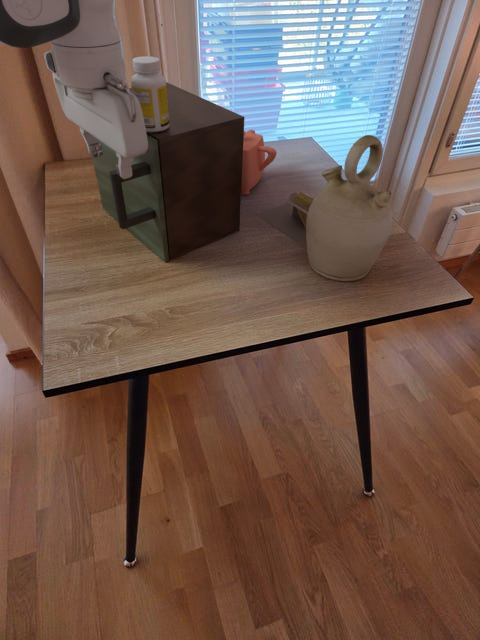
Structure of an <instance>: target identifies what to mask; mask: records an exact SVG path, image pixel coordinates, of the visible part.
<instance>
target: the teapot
mask: <svg viewBox="0 0 480 640" xmlns="http://www.w3.org/2000/svg"><path fill="white" fill-rule="evenodd" d="M266 153H267V157H266ZM276 157H277V150H276V149H275V148H273V147H271V146H265V142H264V136H263V135H262V134H259V133H256V131H255V130H254V129H248V130H247V131H245V130H244V141H243V163H242V186H241V195H244V196H245V195H249V194H250V190H251V189H253V188H254V187H255V186H256V185H257V184H258V183H259V181H260V180H261V178H262V176H263V174H264V171H265V168H267V167H268V166H269V165H270V164H272V163H273V162H274V160H275V159H276Z"/></svg>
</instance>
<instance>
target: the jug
mask: <svg viewBox="0 0 480 640" xmlns="http://www.w3.org/2000/svg"><path fill="white" fill-rule="evenodd" d="M367 149H369V154H368V158H367V161H366V164H365V166H364V167H363V168H362V169H361V171H359V172H358V165H359V162H360V160H361V158H362V156H363V154H364V153H365V152H366V151H367ZM383 156H384V147H383V143H382V141H381V140H380V139H379V138H378V137H377V136H375V135H373V134H366V135H363V136H361V137H359V138H358V139H357V140H356V141H354V143H353V144H352V145H351V147H350V149H349V151H348V152H347V154H346V157H345V160H344V168H343V165H340V164H339V165H337V166H334V167H331V168H329V169H326V170H323V171H322V172H321V173H320V174H321V176H322V177H323V178H324V179H325V181H326V183H327V185H326V186H325V188H323V189H322V190H320V191H319V193H317V195H316V196H315V198H313V199H314V200H313V199H312V200H313V202H312V204H311V206H310V208H309V210H308V214H307V220H306V241H307V250H306V252H307V258H308V259H307V260H308V263H309V266H310V267H311V269H312V270H313V271H314V272H315V273H317V274H318V275H320V276H321V277H324V278H326V279H328V280H332V281H338V282H355V281H359V280H361V279H363V278H364V277H366V276H367V275H368V274H369V273H370V270H371V269H372V267H374V265H375V263H376V262H377V260H378V258H379V256H380V254H381V253H382V251H383V250H384V247H385V245H386V244H387V242H388V241H389V238H390V236H391V232H392V228H393V210H392V206H391V203H390V200H391V198H392V192H391V191H390V190H385V191H381V190H379V189H378V188H377V187H375V186H374V185H372V184H371V182H370V181H371V180H372V178H373V177H374V176H375V175H376V173H377V172H378V170H379V168H380V166H381V163H382V160H383ZM342 170H344V177H345V178H346V179H344V178H343V176H342V174H343V173H342V172H343V171H342Z"/></svg>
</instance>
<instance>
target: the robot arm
mask: <svg viewBox="0 0 480 640" xmlns="http://www.w3.org/2000/svg"><path fill="white" fill-rule="evenodd" d="M115 7H116V0H0V44H2V45H4V46H7V47H10V48H15V49H30V48H34V47H37V46H40V45H43V44H46V43H49V42H50V46H51V49H49V50H46V51H45V52H44V53H43V58H44V61H45V65H46V67H47V70H49V71H50V72H52V73H51V74H52V80H53V84H54V87H55V91H56V95H57V97H58V101H59V103H60V107H61V109H62V111H63V114H64V115H65V117H66V119H67V120H68V121H70V122H72V123H73V124H75V125H76V126H77V127H78V128H79V131H80V134H81V135H82V138H83V140H84V142H85V144H86V146H87V151H88V152H87V153H88V154H89V155H90V156H91V157H92V156H93V157H98V156H102V155H103V151H102V146H101V144H100V143H99V141H98V140H100V141H101V142H102V143H104V144H105V145H107V146H108V147H110V148H111V149H113V150H114V151H116V156H117V157H119V161H118V164H117V165H116V169H117V174H118V175H119V176H120V177H121V178H123V179H127V178H130V177H132V167H131V165H132V162H133V159H134V157H137V156H140V155H143V154H145V153H146V152H147V149H148V139H147V134H146V128H145V123H144V118H143V113H142V109H141V106H140V103H139V101H138V99H137V97H136V96H135V95H134V94H133V93H131V91H130V89H129V88H130V87H129V84H128V82H127V81H126V80H127V69H126V63H125V56H124V48H123V42H122V36H121V31H120V29H119V27H118V23H117V20H116V12H115V11H116V10H115V9H116V8H115Z"/></svg>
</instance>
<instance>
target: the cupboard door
mask: <svg viewBox="0 0 480 640" xmlns="http://www.w3.org/2000/svg"><path fill="white" fill-rule="evenodd" d="M147 139H148V149H147V152H146V153H145V154H143V155H140V156H137V157H134V159H133V162H132V165H131V167H132V177H130V178H127V179H123V178H121V177H120V176H119V175H118V174H117V169H116V165H117V164H118V161H119V157H117V156H116V151H114V150H113V149H111V148H110V147H108V146H107V145H105V144H104V143H102V142H101V141H100V140H98V141H99V143H100V144H101V146H102V151H103V155H102V156H98V157H93V156H92V155H91V158H92V164H93V168H94V173H95V178H96V182H97V187H98V193H99V196H100V201H101V206H102V210H104V211H105V212H106V213H107V214H108V215H110V216H111V218H113V219H114V220H115V221H116V222H118V227H119V229H121V230H127V231H128V232H129V233H130V234H132V235H133V236H134V237H135V238H136V239H137V240H139V241H140V242H141V243H142V244H143V245H144V246H145V247H147V248H148V249H149V250H150V251H151V252H152V253H154V254H155V255H156V256H157V257H158V258H159V259H161V260H162V261H163V262H164V263H166V262H168V261H170V260H169V253H168V243H167V233H166V223H165V213H164V202H163V192H162V182H161V172H160V162H159V151H158V141H157V140H156V139H154V138H153V137H151V136H149V135H148V134H147Z"/></svg>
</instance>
